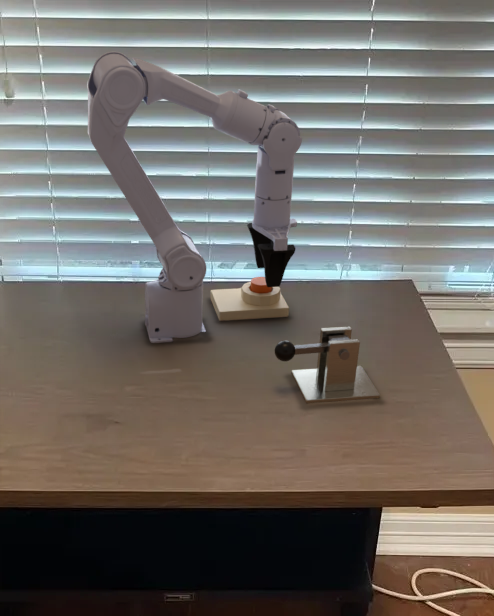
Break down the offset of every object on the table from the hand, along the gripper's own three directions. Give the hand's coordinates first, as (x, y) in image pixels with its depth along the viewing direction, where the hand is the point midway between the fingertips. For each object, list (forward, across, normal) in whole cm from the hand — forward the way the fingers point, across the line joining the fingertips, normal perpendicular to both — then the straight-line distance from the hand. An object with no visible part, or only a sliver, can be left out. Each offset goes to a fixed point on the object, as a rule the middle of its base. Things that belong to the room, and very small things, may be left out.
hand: (268, 276), depth 150 cm
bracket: (+8, -23, -6) cm, 25 cm away
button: (+5, +6, 0) cm, 8 cm away
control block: (+8, +6, +2) cm, 10 cm away
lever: (+3, -23, -2) cm, 23 cm away
